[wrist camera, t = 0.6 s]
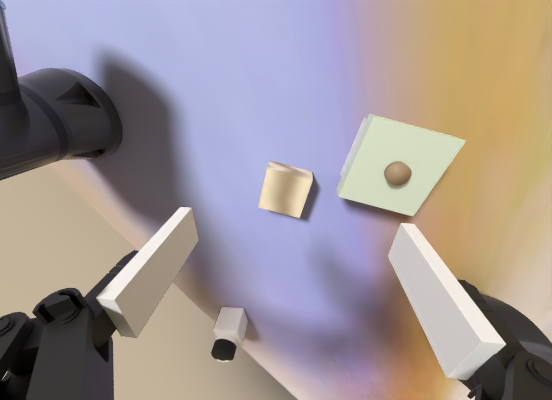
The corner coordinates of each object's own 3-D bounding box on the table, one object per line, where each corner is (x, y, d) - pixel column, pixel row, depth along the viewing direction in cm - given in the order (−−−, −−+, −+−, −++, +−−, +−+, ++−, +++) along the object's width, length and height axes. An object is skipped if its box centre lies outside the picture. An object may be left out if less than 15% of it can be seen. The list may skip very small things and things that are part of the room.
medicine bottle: (221, 306, 64) (204, 350, 53) (244, 307, 63) (231, 352, 52) (226, 320, 67) (212, 363, 57) (248, 321, 66) (237, 366, 56)
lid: (336, 189, 35) (339, 201, 31) (368, 113, 29) (376, 118, 25) (406, 208, 35) (417, 221, 31) (454, 136, 29) (473, 143, 25)
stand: (262, 197, 43) (258, 207, 40) (270, 160, 39) (266, 168, 36) (300, 206, 43) (299, 218, 40) (312, 171, 39) (312, 180, 36)
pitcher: (446, 326, 55) (568, 542, 29) (384, 292, 52) (461, 502, 26) (515, 292, 47) (771, 553, 21) (447, 250, 44) (649, 496, 18)
